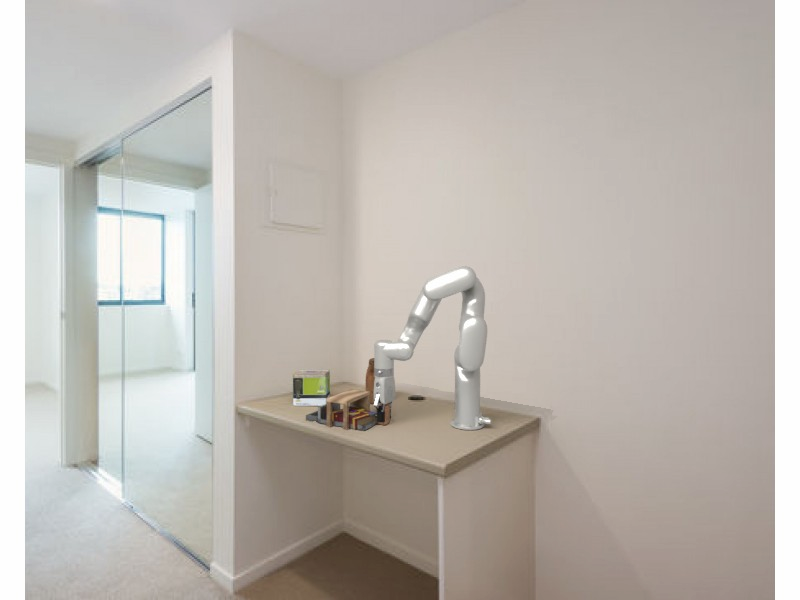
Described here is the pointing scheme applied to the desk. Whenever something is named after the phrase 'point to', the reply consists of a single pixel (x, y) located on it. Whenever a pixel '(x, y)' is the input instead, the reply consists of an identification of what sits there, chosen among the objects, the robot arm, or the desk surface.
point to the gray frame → (312, 416)
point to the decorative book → (354, 416)
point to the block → (370, 380)
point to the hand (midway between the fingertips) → (383, 419)
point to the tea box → (311, 387)
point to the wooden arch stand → (348, 404)
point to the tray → (336, 406)
